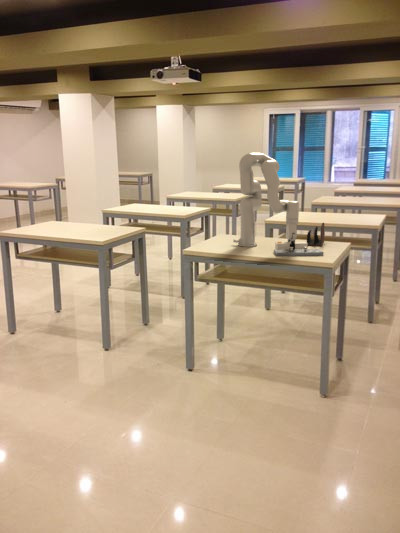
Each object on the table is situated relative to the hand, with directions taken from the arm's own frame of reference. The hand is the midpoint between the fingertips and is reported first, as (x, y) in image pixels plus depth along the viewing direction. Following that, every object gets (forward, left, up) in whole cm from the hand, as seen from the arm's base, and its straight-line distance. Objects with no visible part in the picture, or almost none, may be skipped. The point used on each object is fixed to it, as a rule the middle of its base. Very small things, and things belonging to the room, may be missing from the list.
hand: (291, 249), depth 307 cm
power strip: (0, 0, -1) cm, 1 cm away
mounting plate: (+2, -11, -1) cm, 11 cm away
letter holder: (+21, +23, -1) cm, 31 cm away
